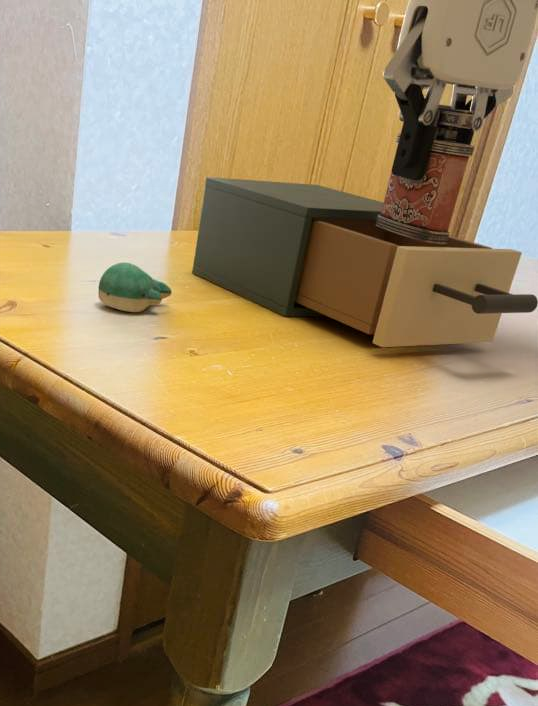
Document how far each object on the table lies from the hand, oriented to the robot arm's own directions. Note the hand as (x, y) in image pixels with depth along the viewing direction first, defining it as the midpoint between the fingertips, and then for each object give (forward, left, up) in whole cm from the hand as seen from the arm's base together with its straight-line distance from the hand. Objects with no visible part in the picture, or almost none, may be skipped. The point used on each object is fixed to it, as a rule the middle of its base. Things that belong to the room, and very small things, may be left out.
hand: (425, 176), depth 71 cm
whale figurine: (+21, -10, -14) cm, 27 cm away
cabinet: (0, -14, -13) cm, 19 cm away
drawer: (0, +2, -12) cm, 13 cm away
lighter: (0, 0, -5) cm, 5 cm away
